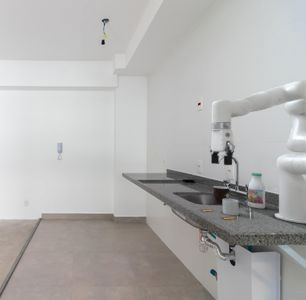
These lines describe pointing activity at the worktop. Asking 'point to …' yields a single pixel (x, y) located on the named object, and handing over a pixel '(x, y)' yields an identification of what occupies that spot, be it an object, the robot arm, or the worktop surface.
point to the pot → (230, 206)
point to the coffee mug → (220, 193)
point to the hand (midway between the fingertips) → (221, 164)
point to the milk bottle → (256, 192)
